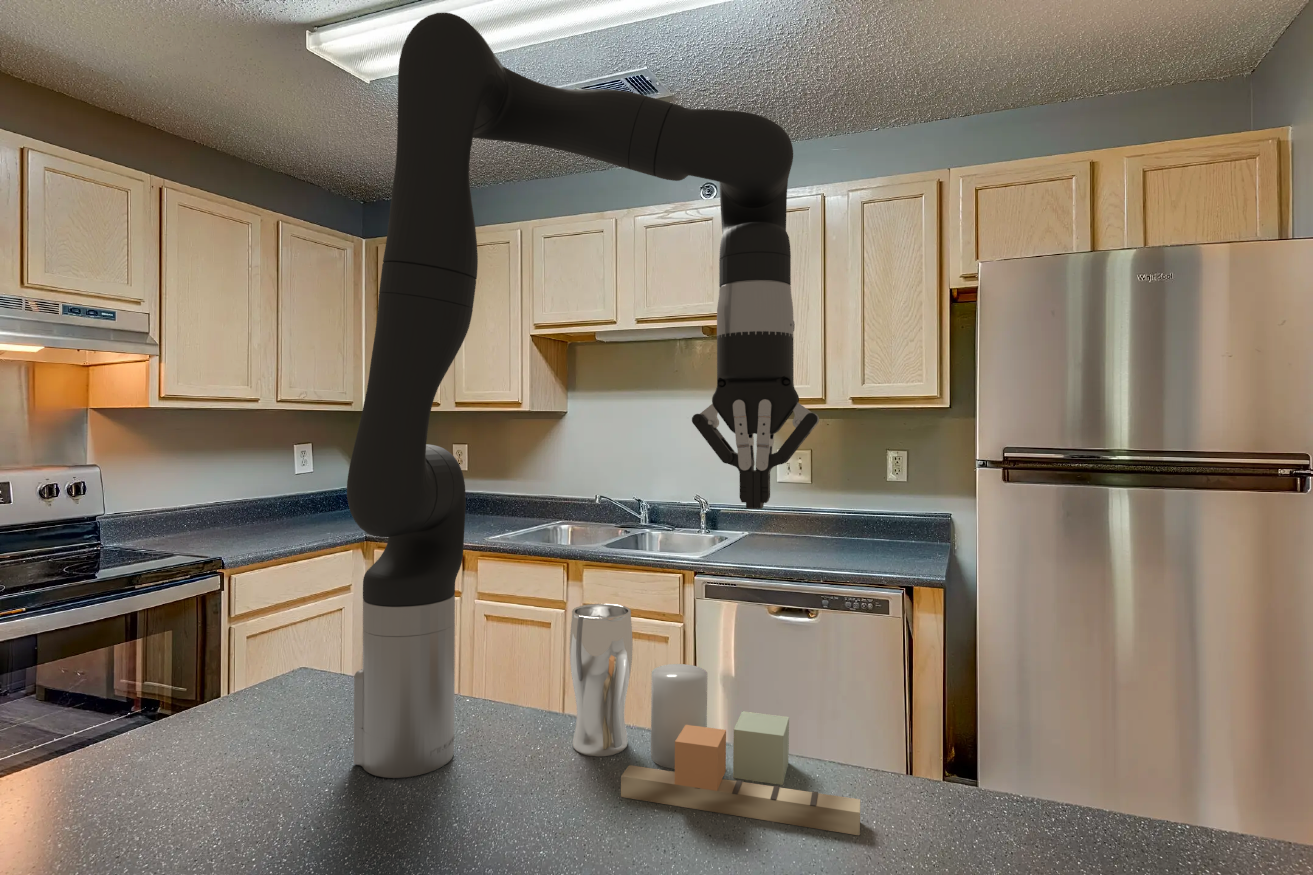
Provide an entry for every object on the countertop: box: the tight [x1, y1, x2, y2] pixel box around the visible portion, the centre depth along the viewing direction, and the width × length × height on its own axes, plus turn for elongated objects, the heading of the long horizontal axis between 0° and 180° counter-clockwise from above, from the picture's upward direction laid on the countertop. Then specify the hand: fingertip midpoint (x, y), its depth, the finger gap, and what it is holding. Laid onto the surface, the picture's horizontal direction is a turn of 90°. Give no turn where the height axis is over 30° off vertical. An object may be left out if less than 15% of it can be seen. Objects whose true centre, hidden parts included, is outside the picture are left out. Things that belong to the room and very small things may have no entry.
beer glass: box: [569, 603, 634, 758], centre depth 82 cm, size 7×7×15 cm
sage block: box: [732, 710, 790, 786], centre depth 76 cm, size 5×5×5 cm
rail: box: [620, 764, 861, 836], centre depth 69 cm, size 22×2×2 cm, turn 73°
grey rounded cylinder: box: [650, 663, 708, 770], centre depth 79 cm, size 6×6×9 cm
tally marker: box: [674, 725, 727, 791], centre depth 69 cm, size 4×4×4 cm
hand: (755, 507), depth 73 cm, fingers closed
